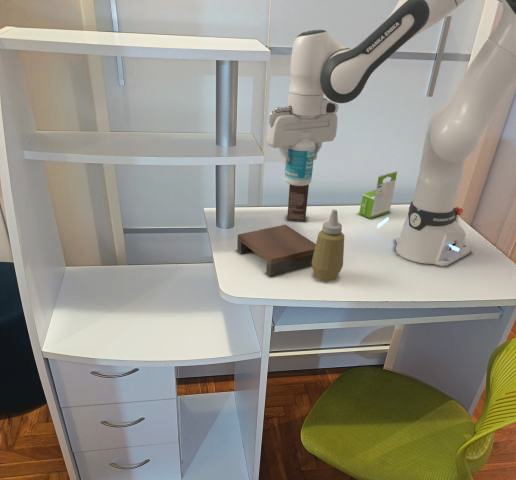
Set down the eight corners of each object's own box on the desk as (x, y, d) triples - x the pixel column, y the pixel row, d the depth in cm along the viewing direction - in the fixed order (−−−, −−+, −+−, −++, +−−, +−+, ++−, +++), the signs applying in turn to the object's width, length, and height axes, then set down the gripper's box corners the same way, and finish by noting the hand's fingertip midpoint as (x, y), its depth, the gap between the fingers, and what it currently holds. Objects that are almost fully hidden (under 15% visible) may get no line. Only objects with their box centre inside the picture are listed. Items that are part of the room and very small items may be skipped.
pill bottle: (309, 188, 135) (314, 135, 127) (282, 185, 137) (285, 132, 129) (312, 179, 141) (318, 128, 133) (286, 176, 142) (290, 125, 135)
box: (305, 216, 165) (309, 179, 158) (305, 222, 161) (309, 184, 154) (287, 215, 165) (290, 178, 158) (286, 220, 162) (289, 183, 155)
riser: (284, 240, 149) (285, 224, 146) (319, 264, 138) (321, 247, 135) (237, 251, 142) (237, 234, 139) (270, 277, 131) (271, 259, 128)
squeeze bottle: (316, 285, 128) (325, 217, 118) (305, 270, 134) (312, 205, 124) (346, 282, 130) (357, 215, 120) (333, 268, 136) (343, 203, 126)
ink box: (377, 207, 175) (385, 166, 166) (390, 212, 171) (399, 171, 163) (358, 214, 169) (365, 172, 161) (370, 219, 166) (378, 176, 158)
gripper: (277, 110, 121) (273, 169, 129) (343, 105, 130) (336, 160, 138) (263, 105, 125) (260, 162, 133) (328, 100, 134) (322, 153, 142)
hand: (299, 161), depth 136 cm, fingers closed on pill bottle, 7 cm apart
